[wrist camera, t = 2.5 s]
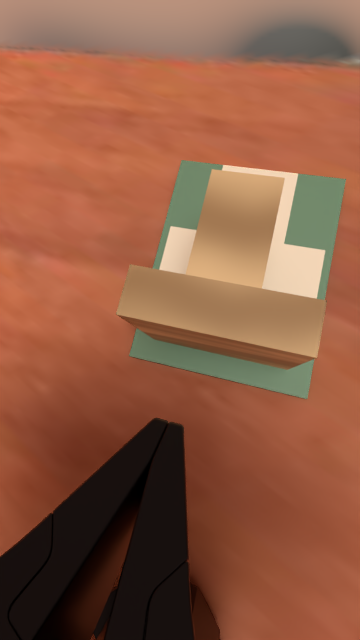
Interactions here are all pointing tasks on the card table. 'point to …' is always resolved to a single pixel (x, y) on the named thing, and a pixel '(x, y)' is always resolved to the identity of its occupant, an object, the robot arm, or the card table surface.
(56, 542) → the robot arm
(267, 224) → the oak t block
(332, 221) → the board
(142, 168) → the card table surface
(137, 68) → the card table surface
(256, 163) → the card table surface
